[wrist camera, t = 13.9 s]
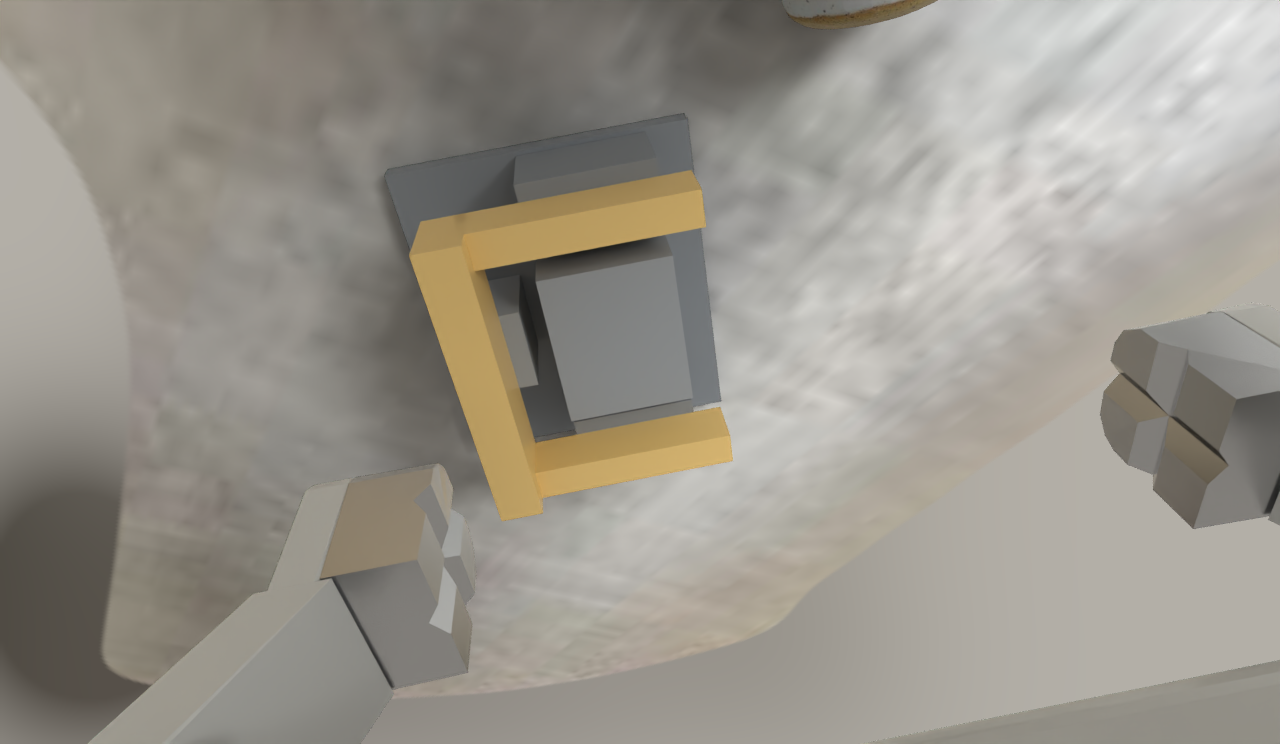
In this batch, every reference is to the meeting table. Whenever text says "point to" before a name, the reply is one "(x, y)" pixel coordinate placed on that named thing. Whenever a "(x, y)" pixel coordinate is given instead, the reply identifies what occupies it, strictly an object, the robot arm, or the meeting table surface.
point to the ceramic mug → (848, 11)
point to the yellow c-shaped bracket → (481, 360)
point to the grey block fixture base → (586, 280)
